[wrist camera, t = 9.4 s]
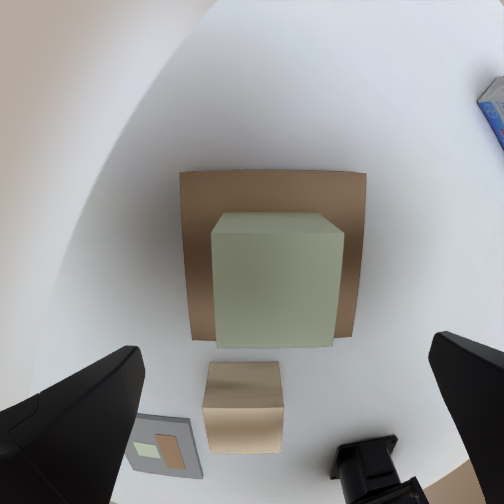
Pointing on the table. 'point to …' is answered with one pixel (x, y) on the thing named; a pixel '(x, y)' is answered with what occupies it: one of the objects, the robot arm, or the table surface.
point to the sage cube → (275, 279)
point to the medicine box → (494, 107)
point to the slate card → (163, 447)
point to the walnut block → (268, 200)
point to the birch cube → (243, 407)
